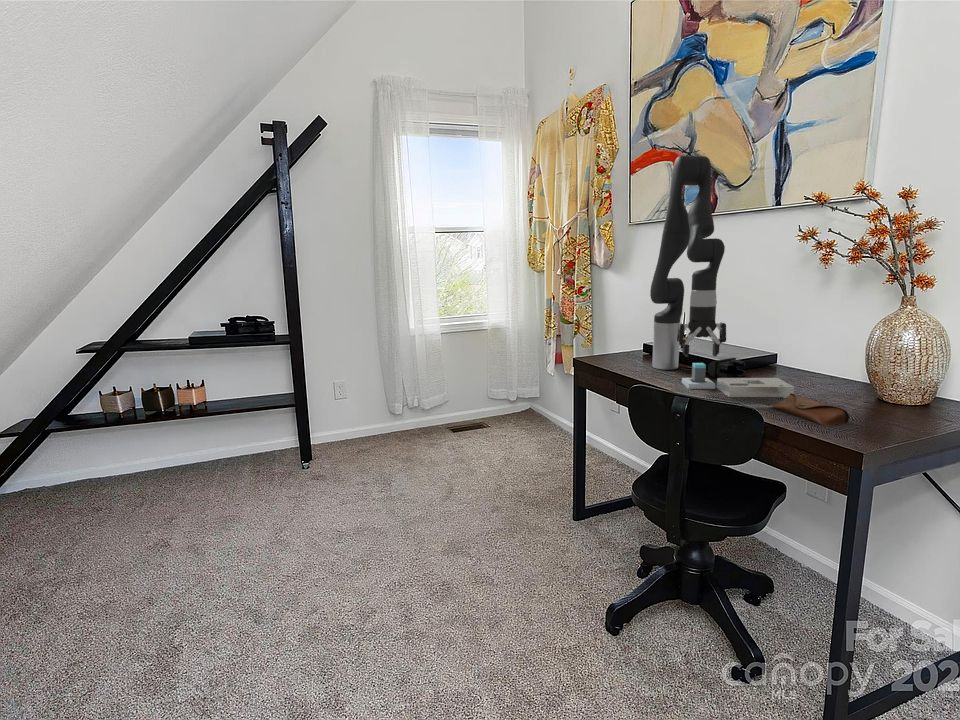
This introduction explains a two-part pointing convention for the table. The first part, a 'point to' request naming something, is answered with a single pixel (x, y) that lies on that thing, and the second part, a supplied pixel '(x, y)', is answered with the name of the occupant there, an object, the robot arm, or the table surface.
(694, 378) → the plug
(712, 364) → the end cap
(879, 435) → the table surface
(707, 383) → the holster
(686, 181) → the robot arm
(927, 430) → the table surface
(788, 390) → the port panel
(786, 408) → the sunglasses case
